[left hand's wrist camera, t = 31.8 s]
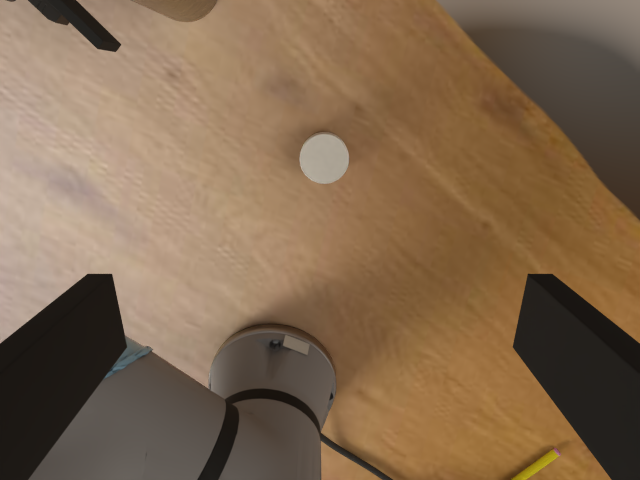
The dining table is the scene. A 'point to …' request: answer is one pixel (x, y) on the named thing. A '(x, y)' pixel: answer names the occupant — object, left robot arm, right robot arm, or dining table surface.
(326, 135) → the cap
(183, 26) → the dining table surface
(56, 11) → the right robot arm
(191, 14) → the bottle
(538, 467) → the pencil
